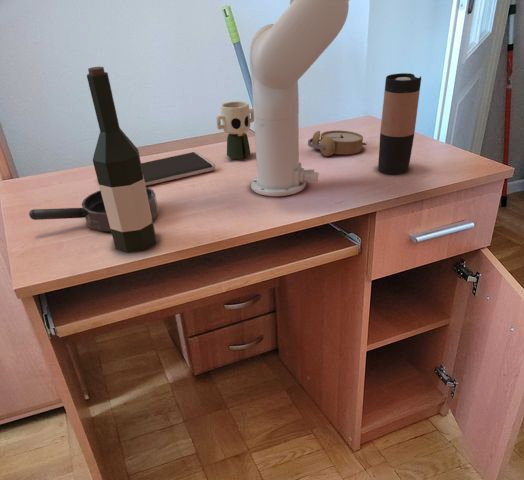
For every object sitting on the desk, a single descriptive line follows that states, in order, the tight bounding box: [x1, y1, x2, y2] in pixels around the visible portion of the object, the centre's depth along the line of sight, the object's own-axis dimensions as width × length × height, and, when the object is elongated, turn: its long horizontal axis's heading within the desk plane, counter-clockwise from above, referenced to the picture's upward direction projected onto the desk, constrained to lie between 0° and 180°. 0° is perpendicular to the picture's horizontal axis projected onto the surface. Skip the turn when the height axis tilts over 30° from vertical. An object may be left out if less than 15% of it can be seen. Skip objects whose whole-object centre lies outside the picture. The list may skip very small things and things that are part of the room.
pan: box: [81, 186, 159, 233], centre depth 105 cm, size 15×15×4 cm
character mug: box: [216, 100, 254, 160], centre depth 129 cm, size 11×7×13 cm, turn 122°
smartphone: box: [141, 151, 216, 187], centre depth 125 cm, size 13×27×2 cm, turn 118°
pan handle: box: [28, 207, 85, 221], centre depth 101 cm, size 11×2×4 cm, turn 113°
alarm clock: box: [307, 130, 368, 157], centre depth 132 cm, size 11×5×15 cm
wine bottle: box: [86, 66, 157, 253], centre depth 88 cm, size 8×8×30 cm
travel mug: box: [377, 72, 422, 176], centre depth 114 cm, size 8×8×20 cm
